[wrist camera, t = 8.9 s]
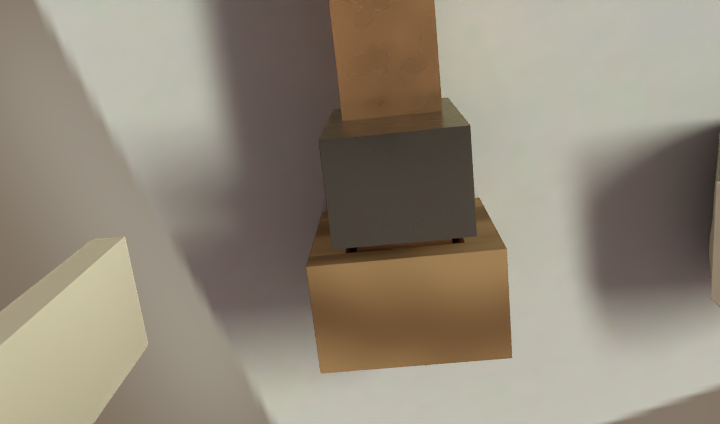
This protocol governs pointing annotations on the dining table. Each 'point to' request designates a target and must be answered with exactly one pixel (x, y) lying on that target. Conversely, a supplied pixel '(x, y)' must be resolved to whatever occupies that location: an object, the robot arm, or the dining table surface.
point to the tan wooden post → (394, 133)
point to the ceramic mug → (711, 241)
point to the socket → (410, 301)
